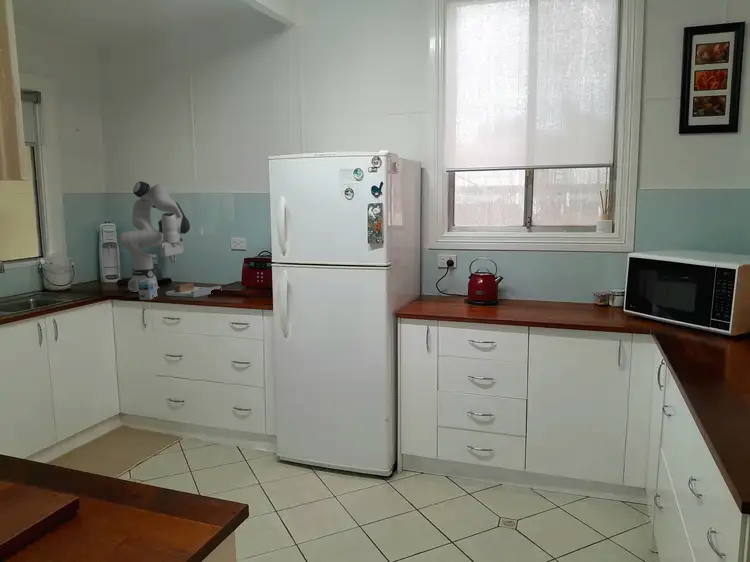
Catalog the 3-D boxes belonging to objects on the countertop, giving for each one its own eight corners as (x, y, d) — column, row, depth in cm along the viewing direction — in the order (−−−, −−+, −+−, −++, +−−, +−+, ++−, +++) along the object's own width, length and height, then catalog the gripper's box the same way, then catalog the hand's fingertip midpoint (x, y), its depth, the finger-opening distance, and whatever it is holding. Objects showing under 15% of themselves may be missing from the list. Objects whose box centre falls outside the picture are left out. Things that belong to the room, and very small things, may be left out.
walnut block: (175, 292, 345) (174, 285, 344) (188, 289, 353) (187, 283, 353) (180, 292, 342) (179, 285, 342) (193, 289, 350) (193, 283, 350)
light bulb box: (150, 299, 333) (148, 281, 332) (139, 300, 333) (137, 281, 332) (157, 296, 344) (156, 278, 342) (146, 297, 344) (144, 279, 342)
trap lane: (166, 295, 347) (165, 289, 347) (194, 289, 365) (193, 284, 364) (193, 297, 334) (193, 291, 333) (221, 291, 351) (221, 285, 351)
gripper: (165, 241, 337) (168, 264, 339) (184, 238, 357) (186, 260, 359) (156, 241, 338) (158, 264, 340) (175, 238, 358) (177, 260, 360)
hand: (173, 262), depth 350 cm, fingers closed
